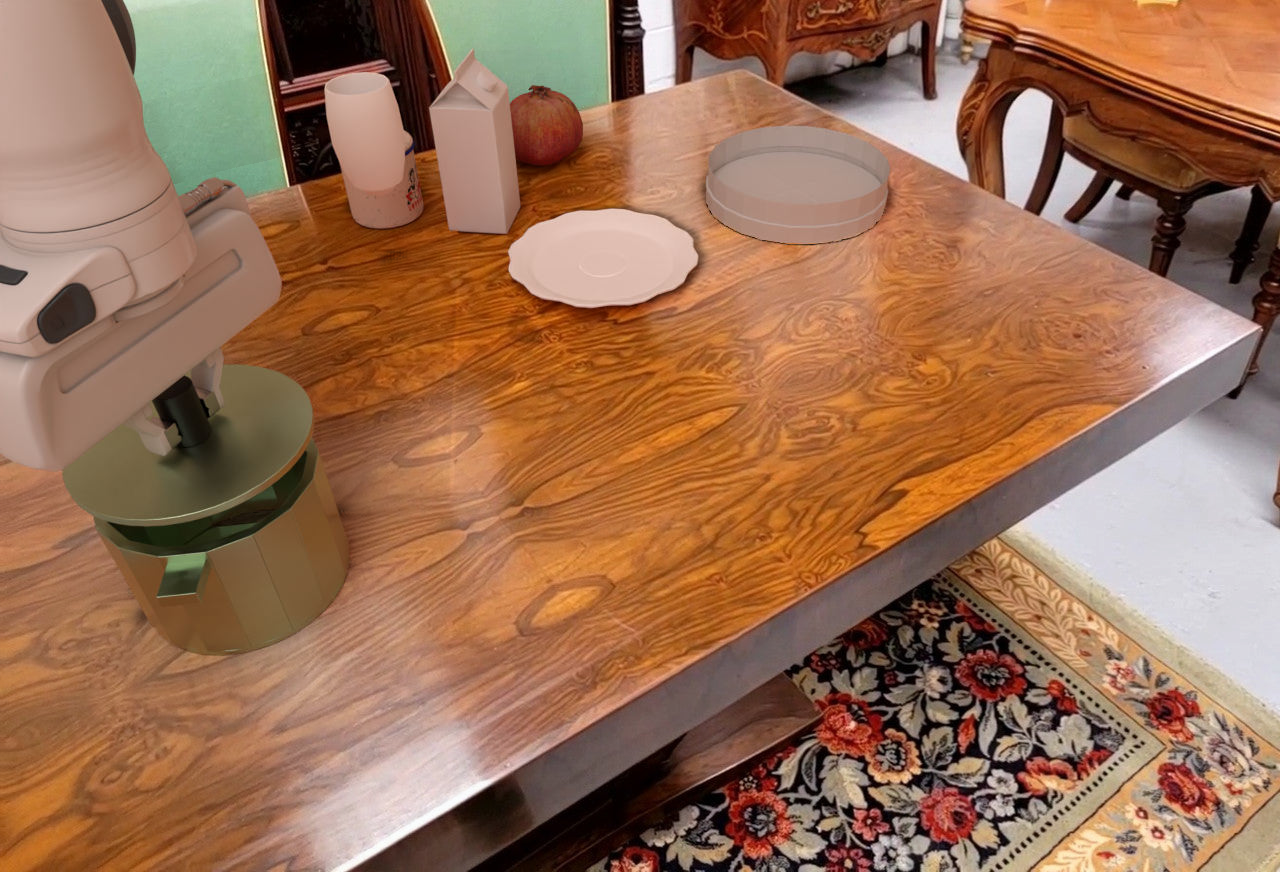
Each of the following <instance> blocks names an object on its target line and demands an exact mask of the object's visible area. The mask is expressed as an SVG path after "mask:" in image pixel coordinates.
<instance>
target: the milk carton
mask: <svg viewBox="0 0 1280 872" xmlns="http://www.w3.org/2000/svg"><path fill="white" fill-rule="evenodd" d="M453 75H454V77H453V78H452V79H450V81H449V82H448V83H447V84H446V85H445V87H444V88H443V89H442V90H441V92H439V94H438V96H437V97H436V98H435V99H434V101H433V102H432V103H431V104H430V106H429V107H428V111H429V116H430V122H431V129H432V134H433V140H434V147H435V153H436V160H437V165H438V171H439V177H440V184H441V189H442V190H441V191H442V196H443V202H444V208H445V213H446V220H447V226H448V231H449V232H456V231H457V232H463V233H480V234H481V233H483V234H497V235H498V234H499V235H500V234H501V235H507V234H508V233H509V231H510V229H511V228H512V225H513V223H514V221H515V218H516V217H517V216H518V213H519V211H520V209H521V198H520V187H519V178H518V170H517V159H516V158H515V149H514V140H513V130H512V121H511V111H510V103H511V101H510V94H509V87H508V84H506V83H505V82H504V81H503V80H501V79H500V78H499V77H497V75H495V74H494V73H493V72H492V71H490V69H489V68H487V66H485V65H483V64H482V62H480V61H479V60H478V59H476V55H475V48H471V49H470V51H469V52H468V53H467V54H466V56H465V57H464V58H463V60H462V61H461V62H460V63H459V65H458V66H457V67H456V68H455V70H454V71H453Z"/></svg>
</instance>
